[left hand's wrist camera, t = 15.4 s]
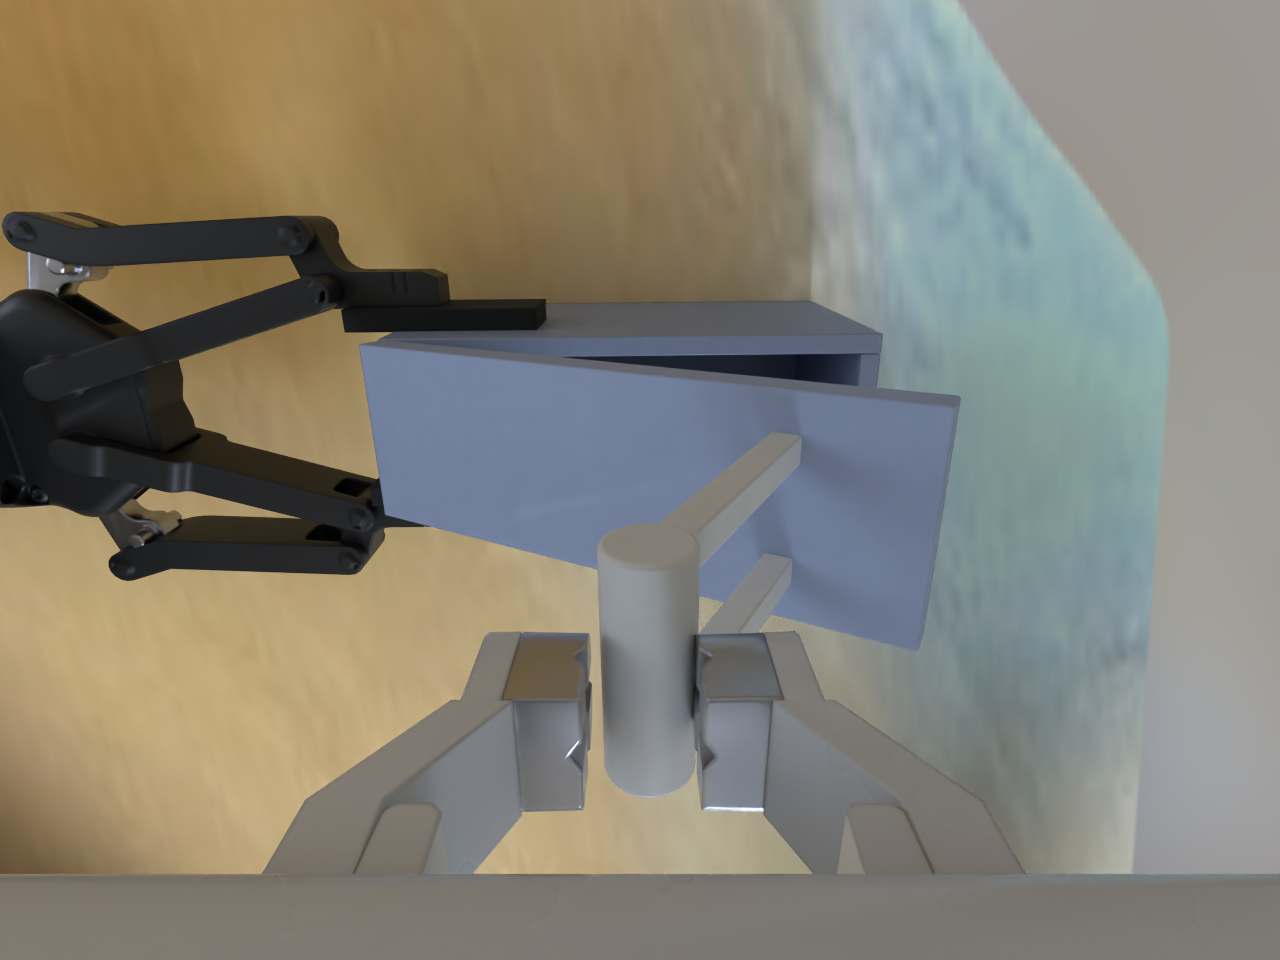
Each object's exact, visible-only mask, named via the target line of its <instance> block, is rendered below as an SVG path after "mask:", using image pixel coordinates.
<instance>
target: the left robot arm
mask: <svg viewBox="0 0 1280 960" xmlns="http://www.w3.org/2000/svg"><path fill="white" fill-rule="evenodd" d="M590 664H591V647H590V635H589V633H545V632H523V633H521V632H489V633H488V634H487V635H486V636H485V637H484V640H483V642H482V645H481V648H480V650H479V653H478V656H477V658H476V661H475V664H474V666H473V669H472V671H471V674H470V677H469V679H468V682H467V685H466V687H465V690H464V693H463V695H462V698H461V700H450V701H449V702H447V703H446V704H445V705H443V706H442V707H440V708H439V709H437V710H436V711H434V712H433V713H431V714H430V715H428V716H427V717H426V718H424V719H423V720H421V721H420V722H418V723H417V724H415V725H414V726H412V727H411V728H410V729H408V730H407V731H405V732H404V733H402V734H401V735H399V736H398V737H396V738H395V739H393V740H392V741H391V742H389V743H388V744H386V745H385V746H383V747H382V748H380V749H379V750H377V751H376V752H374V753H373V754H372V755H370V756H369V757H367V758H366V759H364V760H363V761H361V762H360V763H358V764H357V765H356V766H354V767H353V768H351V769H350V770H348V771H347V772H345V773H344V774H342V775H341V776H339V777H338V778H337V779H335V780H334V781H332V782H331V783H329V784H328V785H326V786H325V787H323V788H322V789H320V790H319V791H318V792H316V793H315V794H313V795H312V796H310V797H309V798H307V799H306V800H305V801H304V803H303V805H302V806H301V808H300V810H299V812H298V813H297V815H296V817H295V818H294V820H293V822H292V823H291V825H290V827H289V829H288V830H287V832H286V834H285V835H284V837H283V839H282V841H281V842H280V844H279V846H278V847H277V849H276V851H275V853H274V854H273V856H272V858H271V859H270V861H269V863H268V865H267V866H266V868H265V870H264V871H263V873H262V874H0V960H1280V874H1026V873H1025V872H1024V870H1023V868H1022V867H1021V865H1020V863H1019V862H1018V860H1017V858H1016V856H1015V855H1014V853H1013V851H1012V850H1011V848H1010V846H1009V845H1008V843H1007V841H1006V840H1005V838H1004V836H1003V834H1002V833H1001V831H1000V829H999V828H998V826H997V824H996V823H995V821H994V819H993V818H992V816H991V814H990V812H989V811H988V809H987V807H986V806H985V804H984V802H983V801H982V800H980V799H979V798H978V797H976V796H975V795H973V794H972V793H970V792H969V791H967V790H966V789H964V788H963V787H961V786H960V785H958V784H957V783H956V782H954V781H953V780H951V779H950V778H948V777H947V776H945V775H944V774H942V773H941V772H939V771H938V770H936V769H935V768H934V767H932V766H931V765H929V764H928V763H926V762H925V761H923V760H922V759H920V758H919V757H917V756H916V755H914V754H913V753H912V752H910V751H909V750H907V749H906V748H904V747H903V746H901V745H900V744H898V743H897V742H895V741H894V740H892V739H891V738H890V737H888V736H887V735H885V734H884V733H882V732H881V731H879V730H878V729H876V728H875V727H873V726H872V725H870V724H869V723H868V722H866V721H865V720H863V719H862V718H860V717H859V716H857V715H856V714H854V713H853V712H851V711H850V710H848V709H847V708H846V707H844V706H843V705H841V704H840V703H838V702H837V701H835V700H825V699H824V697H823V694H822V692H821V689H820V686H819V684H818V681H817V679H816V676H815V674H814V671H813V669H812V666H811V664H810V661H809V659H808V656H807V654H806V651H805V648H804V646H803V643H802V641H801V638H800V636H799V634H798V633H796V632H795V631H791V632H764V633H737V634H695V652H694V668H695V677H696V683H695V686H694V689H693V717H692V722H693V736H694V747H695V750H696V751H697V752H698V759H697V776H698V785H699V793H700V802H701V810H717V811H753V812H764V816H765V817H766V818H767V819H768V821H769V822H770V823H771V824H772V825H773V827H774V828H775V829H776V830H777V831H778V832H779V834H780V835H781V836H782V837H783V838H784V839H785V841H786V842H787V843H788V844H789V845H790V847H791V848H792V849H793V850H794V851H795V852H796V854H797V855H798V856H799V857H800V858H801V860H802V861H803V862H804V863H805V864H806V865H807V867H808V868H809V869H810V870H811V871H812V873H813V874H473V873H474V871H475V870H476V869H477V868H478V867H479V865H480V864H481V863H482V862H483V861H484V859H485V858H486V857H487V856H488V855H489V854H490V852H491V851H492V850H493V849H494V848H495V846H496V845H497V844H498V843H499V842H500V841H501V839H502V838H503V837H504V836H505V835H506V833H507V832H508V831H509V830H510V829H511V827H512V826H513V825H514V824H515V823H516V822H517V820H518V819H519V818H520V817H521V816H522V814H521V812H532V811H566V810H584V804H585V794H586V785H587V775H588V763H587V752H588V751H589V750H590V743H591V727H592V684H591V682H590V681H589V674H590Z"/></svg>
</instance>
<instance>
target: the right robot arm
mask: <svg viewBox="0 0 1280 960" xmlns="http://www.w3.org/2000/svg"><path fill="white" fill-rule="evenodd" d="M2 228H3V232H4V235H5V236H6V238H7V240H8V241H9V242H10V243H11V244H12V245H13V246H14V247H16V248H18V249H20V250H22V251H26V252H27V289H24V290H20V291H17V292H15V293H13V294H11V295H10V296H8V297H7V298H6V299H5V300H3V301H1V302H0V508H16V507H32V506H44V505H55V506H60V507H63V508H66V509H69V510H72V511H74V512H76V513H78V514H81V515H84V516H89V517H99V518H100V520H101V521H102V523H103V524H104V526H105V527H106V529H107V530H108V532H109V533H110V535H111V536H112V538H113V540H114V541H115V543H116V544H117V546H118V547H119V549H120V550H121V551H119V552H118V553H116V554H115V555H113V556H112V557H111V558H110V560H109V568H110V570H111V572H112V573H113V574H114V575H115V576H116V577H118V578H119V579H121V580H126V581H132V580H136V579H139V578H143V577H146V576H149V575H152V574H156V573H159V572H162V571H165V570H169V569H195V570H224V571H254V572H283V573H313V574H342V575H352V574H356V573H358V572H360V571H361V570H362V568H363V567H364V566H365V564H366V563H367V562H368V561H369V559H370V558H371V557H372V556H373V554H374V553H375V552H376V551H377V549H378V548H379V547H380V545H381V544H382V543H383V541H384V539H385V533H384V528H387V527H424V526H426V527H431V526H427V525H423V524H419V523H415V522H411V521H407V520H404V519H400V518H396V517H392V516H388V515H385V511H384V504H383V498H382V491H381V484H380V478H378V479H373V478H369V477H365V476H361V475H358V474H354V473H350V472H346V471H342V470H338V469H334V468H330V467H326V466H323V465H319V464H315V463H311V462H307V461H303V460H299V459H295V458H291V457H288V456H284V455H280V454H276V453H272V452H268V451H264V450H260V449H256V448H252V447H249V446H245V445H241V444H237V443H233V442H230V441H228V440H227V437H226V436H224V435H222V434H220V433H216V432H212V431H208V430H204V429H200V428H196V427H195V424H194V420H193V417H192V415H191V413H190V412H189V410H188V408H187V406H186V404H185V402H184V400H183V376H182V372H181V368H180V364H179V360H180V359H183V358H186V357H189V356H192V355H195V354H198V353H201V352H204V351H207V350H210V349H213V348H216V347H219V346H222V345H225V344H228V343H231V342H234V341H237V340H240V339H243V338H247V337H250V336H253V335H256V334H259V333H262V332H265V331H268V330H271V329H274V328H277V327H280V326H283V325H286V324H289V323H292V322H295V321H298V320H301V319H304V318H307V317H310V316H314V315H317V314H320V313H323V312H326V311H329V310H332V309H342V310H341V312H342V318H343V324H344V331H345V332H408V331H501V330H537V329H538V328H539V327H540V326H541V325H542V324H543V323H544V322H545V321H546V320H547V317H546V299H503V300H450V294H449V284H448V275H447V274H445V273H443V272H440V271H437V270H435V269H362V268H359V267H357V266H355V265H354V264H352V263H351V262H350V261H349V260H348V259H347V257H346V256H345V254H344V252H343V250H342V248H341V246H340V244H339V242H338V241H339V232H338V230H337V227H336V225H335V224H334V223H333V222H332V221H331V220H330V219H328V218H326V217H322V216H275V217H258V218H242V219H225V220H209V221H193V222H176V223H160V224H143V225H127V226H120V225H117V224H113V223H110V222H107V221H103V220H100V219H97V218H93V217H90V216H86V215H83V214H80V213H73V212H12V213H9V214H7V215H6V217H5V218H4V219H3V224H2ZM286 255H289V256H290V258H291V260H292V262H293V264H294V266H295V268H296V270H297V271H298V273H299V275H300V277H301V278H300V279H297V280H294V281H291V282H288V283H285V284H282V285H279V286H276V287H273V288H270V289H267V290H264V291H261V292H258V293H255V294H252V295H249V296H246V297H243V298H240V299H237V300H234V301H231V302H228V303H225V304H222V305H219V306H216V307H213V308H210V309H207V310H204V311H201V312H198V313H195V314H192V315H189V316H186V317H183V318H180V319H177V320H174V321H171V322H168V323H165V324H162V325H159V326H156V327H153V328H150V329H147V330H144V331H140V330H138V329H137V328H135V327H133V326H132V325H130V324H128V323H127V322H125V321H123V320H122V319H120V318H118V317H117V316H115V315H113V314H112V313H110V312H108V311H107V310H105V309H104V308H102V307H100V306H99V305H97V304H95V303H94V302H92V301H90V300H89V299H87V298H85V297H84V296H82V295H80V294H79V293H77V290H78V287H79V285H80V284H81V283H82V282H88V281H96V280H101V279H103V278H104V277H106V276H107V274H108V271H109V270H111V269H112V268H113V267H114V266H120V265H136V264H153V263H170V262H186V261H203V260H220V259H236V258H253V257H270V256H286ZM149 488H152V489H156V490H160V491H164V492H176V493H177V492H183V491H193V492H197V493H201V494H205V495H209V496H213V497H217V498H221V499H225V500H229V501H233V502H237V503H241V504H245V505H249V506H253V507H257V508H261V509H265V510H270V511H274V512H278V513H282V514H286V515H290V516H294V517H298V518H302V519H296V518H268V517H240V516H197V517H191V518H187V519H183V520H182V516H181V515H180V513H178V512H177V511H169V512H165V511H151V510H147V509H145V508H143V507H142V506H141V505H140V504H139V503H138V502H137V501H136V499H137V498H139V497H140V496H141V495H142V494H143V493H144V492H146V491H147V490H148V489H149Z"/></svg>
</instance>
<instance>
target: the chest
mask: <svg viewBox="0 0 1280 960" xmlns="http://www.w3.org/2000/svg"><path fill="white" fill-rule="evenodd" d="M546 317H547V320H546V321H545V322H544V323H543V324H542V325H541V326H540V327H539V328H538V329H537V330H501V331H408V332H393V333H391V334H389V335H387V336H384V337H382V338H380V339H378V341H381V340H388V341H398V342H408V343H419V344H429V345H439V346H450V347H460V348H470V349H481V350H491V351H501V352H511V353H522V354H532V355H542V356H553V357H563V358H573V359H583V360H594V361H604V362H614V363H625V364H635V365H645V366H655V367H666V368H676V369H686V370H697V371H707V372H717V373H728V374H738V375H748V376H758V377H769V378H779V379H789V380H800V381H810V382H820V383H830V384H841V385H851V386H861V387H872V388H876V387H877V379H878V370H879V361H880V354H879V353H880V352H881V346H882V337H883V334H881V333H879V332H877V331H875V330H873V329H871V328H868V327H866V326H864V325H862V324H860V323H857V322H855V321H853V320H851V319H849V318H847V317H844V316H842V315H840V314H838V313H836V312H833V311H831V310H829V309H827V308H825V307H823V306H820V305H818V304H816V303H814V302H811V301H754V302H660V303H566V304H546Z"/></svg>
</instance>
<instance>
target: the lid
mask: <svg viewBox="0 0 1280 960" xmlns="http://www.w3.org/2000/svg"><path fill="white" fill-rule="evenodd" d="M359 348H360V354H361V361H362V367H363V374H364V380H365V387H366V393H367V400H368V406H369V413H370V419H371V426H372V432H373V439H374V445H375V452H376V458H377V465H378V471H379V478H380V484H381V491H382V498H383V504H384V511H385V515H388V516H392V517H396V518H400V519H404V520H407V521H411V522H415V523H419V524H423V525H427V526H431V527H435V528H438V529H442V530H446V531H450V532H454V533H458V534H462V535H466V536H470V537H473V538H477V539H481V540H485V541H489V542H493V543H497V544H501V545H504V546H508V547H512V548H516V549H520V550H524V551H528V552H532V553H535V554H539V555H543V556H547V557H551V558H555V559H559V560H563V561H566V562H570V563H574V564H578V565H582V566H586V567H590V568H594V569H597V570H598V592H599V620H600V648H601V676H602V705H603V733H604V761H605V769H606V772H607V774H608V776H609V778H610V779H611V781H612V782H613V783H614V784H615V785H616V786H617V787H618V788H619V789H621V790H623V791H624V792H626V793H628V794H631V795H634V796H638V797H645V798H654V797H662V796H666V795H669V794H671V793H674V792H675V791H677V790H679V789H680V788H682V787H683V786H684V785H685V784H686V783H687V781H688V780H689V779H690V777H691V775H692V773H693V771H694V767H695V747H694V736H693V722H692V717H693V689H694V686H695V683H696V677H695V668H694V652H695V634H698V613H699V596H702V597H706V598H710V599H714V600H718V601H722V602H725V603H724V604H723V605H722V606H721V607H720V609H719V610H718V611H717V612H716V614H715V615H714V616H713V617H712V619H711V620H710V621H709V622H708V623H707V625H706V626H705V627H704V628H703V630H702V631H701V632H700V633H699V634H737V633H758V631H759V630H760V628H761V627H762V625H763V624H764V622H765V621H766V619H767V618H768V616H769V615H770V614H772V615H776V616H780V617H784V618H788V619H791V620H795V621H799V622H803V623H807V624H811V625H815V626H819V627H822V628H826V629H830V630H834V631H838V632H842V633H846V634H850V635H853V636H857V637H861V638H865V639H869V640H873V641H877V642H881V643H884V644H888V645H892V646H896V647H900V648H904V649H908V650H912V651H918V650H919V646H920V643H921V639H922V636H923V632H924V627H925V620H926V614H927V608H928V602H929V595H930V589H931V583H932V576H933V570H934V564H935V557H936V551H937V545H938V539H939V532H940V526H941V520H942V513H943V507H944V501H945V494H946V488H947V482H948V475H949V469H950V463H951V457H952V450H953V444H954V438H955V431H956V425H957V419H958V412H959V406H960V400H961V399H960V397H959V396H954V395H944V394H933V393H923V392H913V391H903V390H892V389H882V388H872V387H861V386H851V385H841V384H830V383H820V382H810V381H800V380H789V379H779V378H769V377H758V376H748V375H738V374H728V373H717V372H707V371H697V370H686V369H676V368H666V367H655V366H645V365H635V364H625V363H614V362H604V361H594V360H583V359H573V358H563V357H553V356H542V355H532V354H522V353H511V352H501V351H491V350H481V349H470V348H460V347H450V346H439V345H429V344H419V343H408V342H398V341H388V340H381V341H376V342H370V343H365V344H361V345H359Z"/></svg>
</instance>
